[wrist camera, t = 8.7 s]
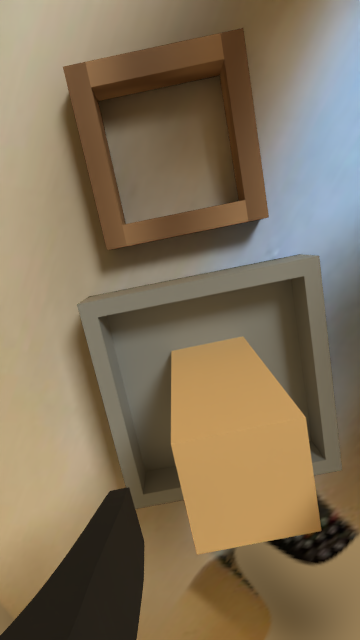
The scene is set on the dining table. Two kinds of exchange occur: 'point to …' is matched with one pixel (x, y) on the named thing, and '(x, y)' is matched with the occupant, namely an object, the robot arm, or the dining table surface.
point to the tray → (202, 328)
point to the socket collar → (156, 72)
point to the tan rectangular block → (239, 449)
